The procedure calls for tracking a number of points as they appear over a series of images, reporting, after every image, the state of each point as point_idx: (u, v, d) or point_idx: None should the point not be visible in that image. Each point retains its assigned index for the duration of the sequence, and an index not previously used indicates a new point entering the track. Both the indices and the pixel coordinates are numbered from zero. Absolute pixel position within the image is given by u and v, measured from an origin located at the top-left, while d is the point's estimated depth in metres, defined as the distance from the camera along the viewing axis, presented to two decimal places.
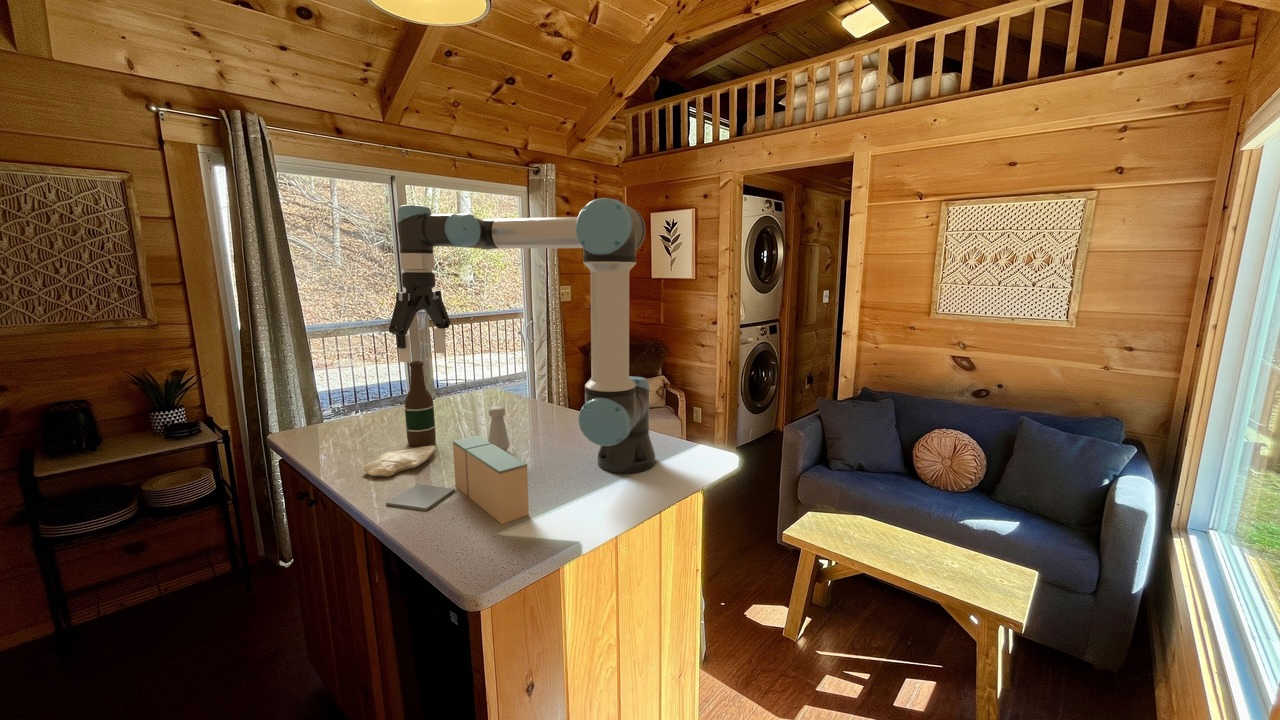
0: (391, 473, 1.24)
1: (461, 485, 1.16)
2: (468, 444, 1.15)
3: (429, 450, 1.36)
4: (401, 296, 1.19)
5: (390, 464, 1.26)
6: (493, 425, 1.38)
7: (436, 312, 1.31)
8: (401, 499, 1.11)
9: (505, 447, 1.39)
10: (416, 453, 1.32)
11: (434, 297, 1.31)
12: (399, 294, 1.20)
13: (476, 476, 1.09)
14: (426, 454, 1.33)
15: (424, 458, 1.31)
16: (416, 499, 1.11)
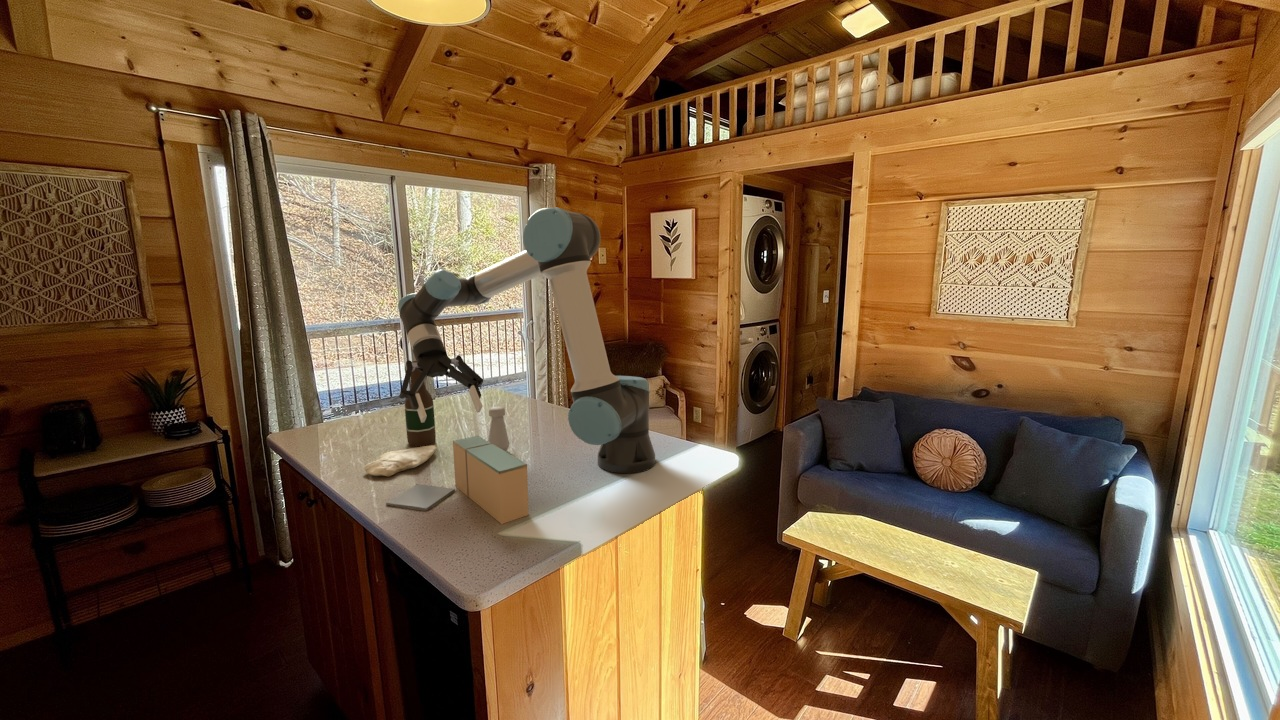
0: (392, 473, 1.24)
1: (461, 485, 1.16)
2: (468, 444, 1.15)
3: (430, 450, 1.36)
4: (405, 365, 1.26)
5: (391, 463, 1.26)
6: (493, 425, 1.38)
7: (458, 372, 1.30)
8: (401, 499, 1.11)
9: (505, 447, 1.39)
10: (417, 453, 1.32)
11: (455, 362, 1.33)
12: (405, 365, 1.26)
13: (476, 476, 1.09)
14: (427, 454, 1.33)
15: (425, 458, 1.31)
16: (416, 499, 1.11)
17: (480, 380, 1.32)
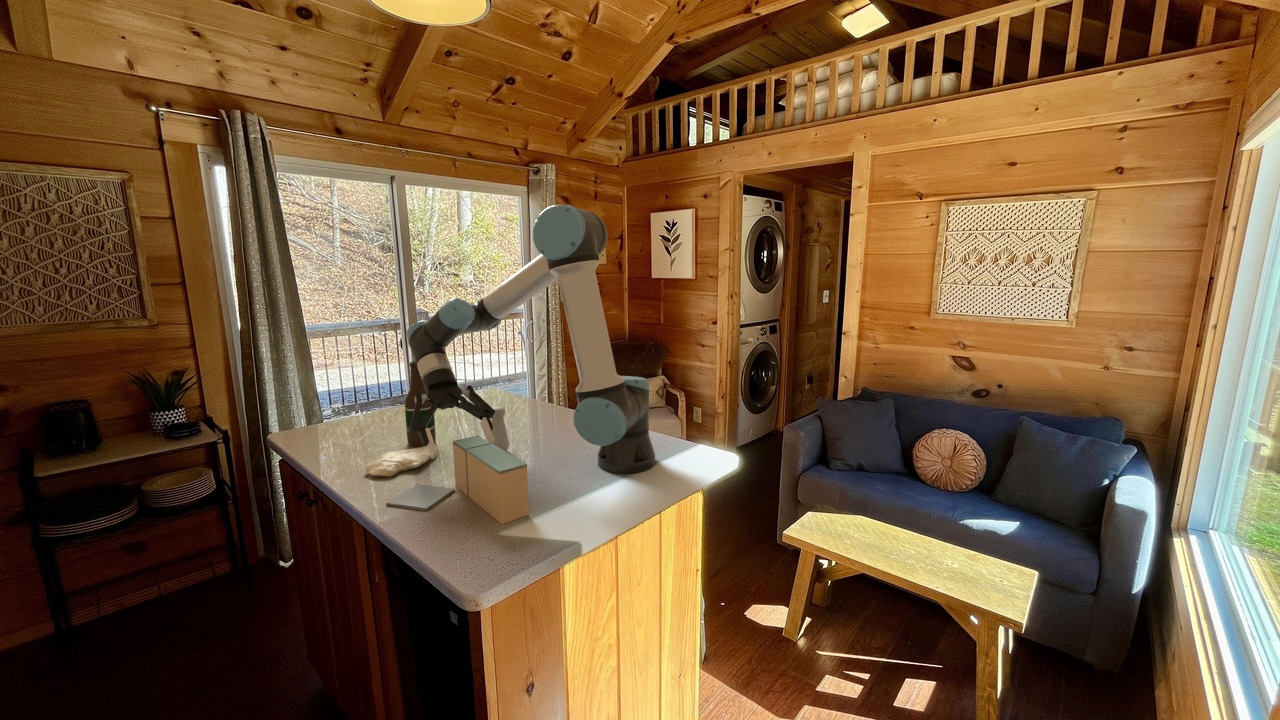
0: (392, 473, 1.24)
1: (461, 485, 1.16)
2: (468, 444, 1.15)
3: None
4: (415, 398, 1.21)
5: (391, 464, 1.26)
6: (493, 425, 1.38)
7: (469, 404, 1.26)
8: (401, 499, 1.11)
9: (505, 447, 1.39)
10: (417, 453, 1.32)
11: (466, 393, 1.28)
12: None
13: (476, 476, 1.09)
14: (427, 454, 1.33)
15: (425, 458, 1.31)
16: (416, 499, 1.11)
17: (492, 411, 1.27)
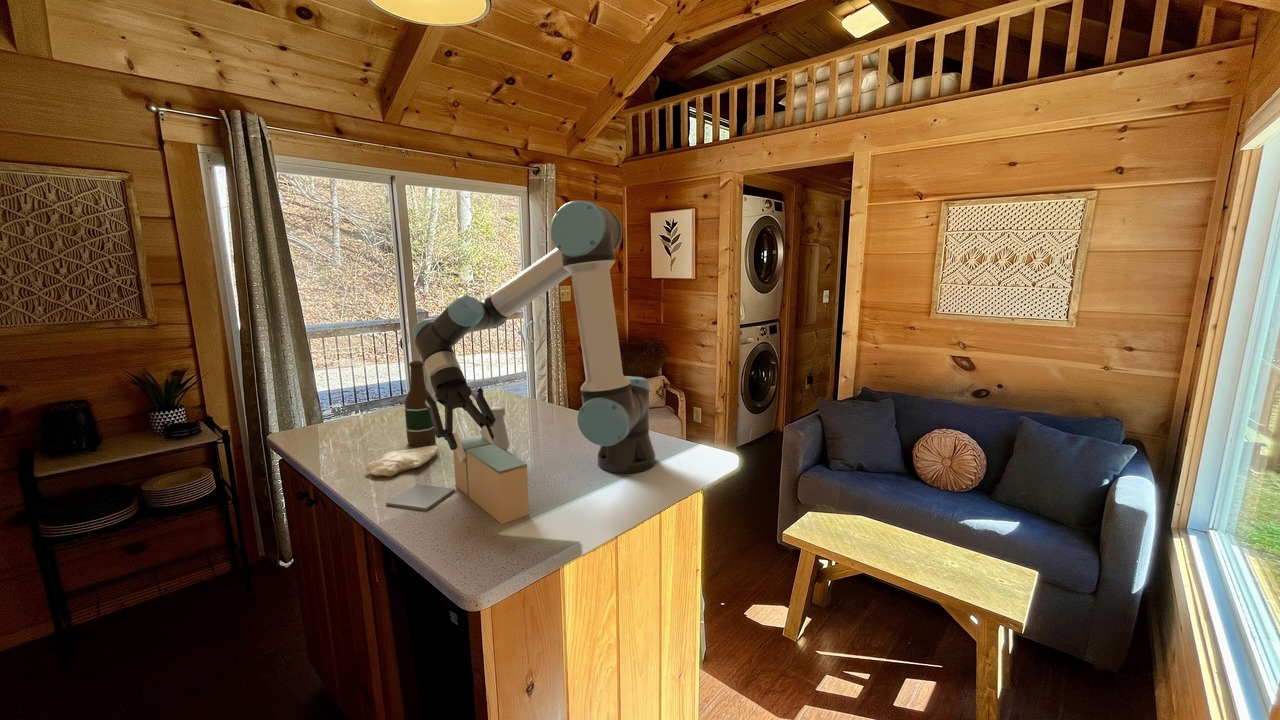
0: (393, 473, 1.24)
1: (461, 485, 1.16)
2: (468, 444, 1.15)
3: (432, 450, 1.36)
4: (427, 403, 1.17)
5: (392, 463, 1.26)
6: (493, 425, 1.38)
7: (473, 407, 1.20)
8: (401, 499, 1.11)
9: (505, 447, 1.39)
10: (418, 453, 1.32)
11: (474, 394, 1.24)
12: (425, 402, 1.17)
13: (476, 476, 1.09)
14: (428, 454, 1.33)
15: (426, 458, 1.31)
16: (416, 499, 1.11)
17: (492, 419, 1.21)
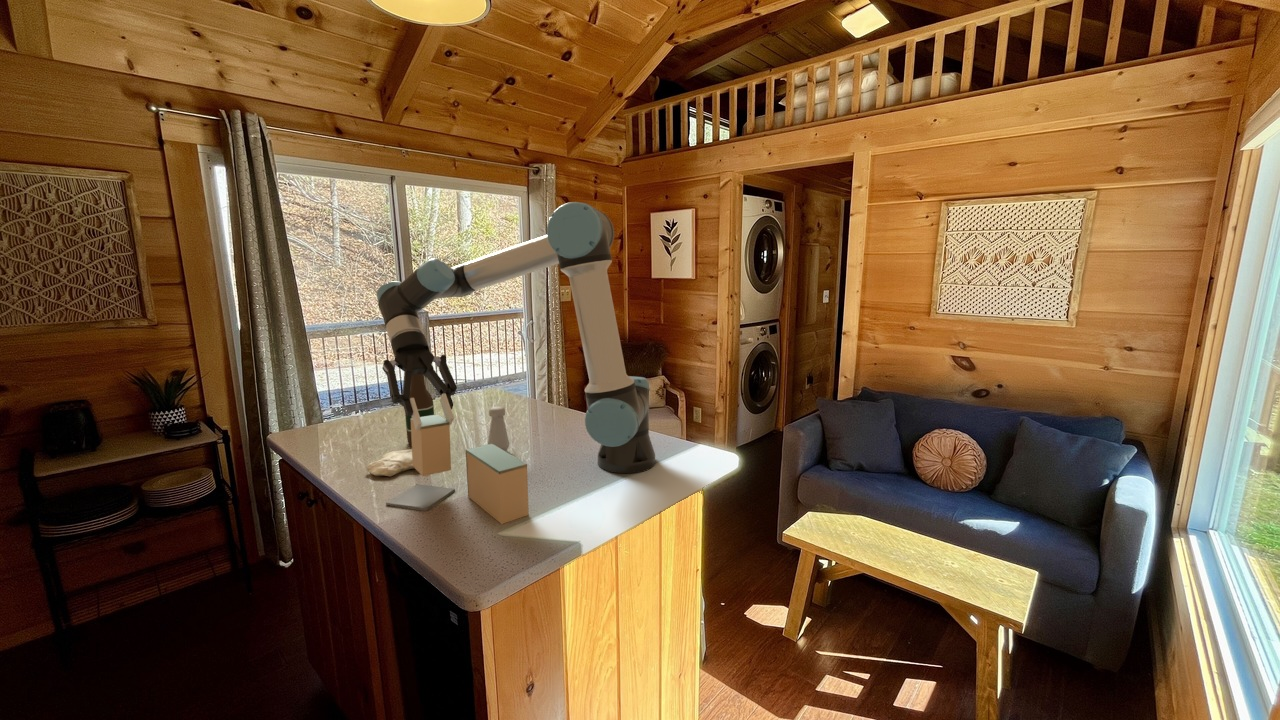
0: (393, 473, 1.24)
1: (417, 464, 1.12)
2: (425, 422, 1.10)
3: None
4: (384, 366, 1.11)
5: (393, 463, 1.26)
6: (493, 425, 1.38)
7: (433, 374, 1.15)
8: (401, 499, 1.11)
9: (505, 447, 1.39)
10: None
11: (437, 361, 1.18)
12: (383, 366, 1.12)
13: (476, 476, 1.09)
14: None
15: None
16: (416, 499, 1.11)
17: (453, 387, 1.15)
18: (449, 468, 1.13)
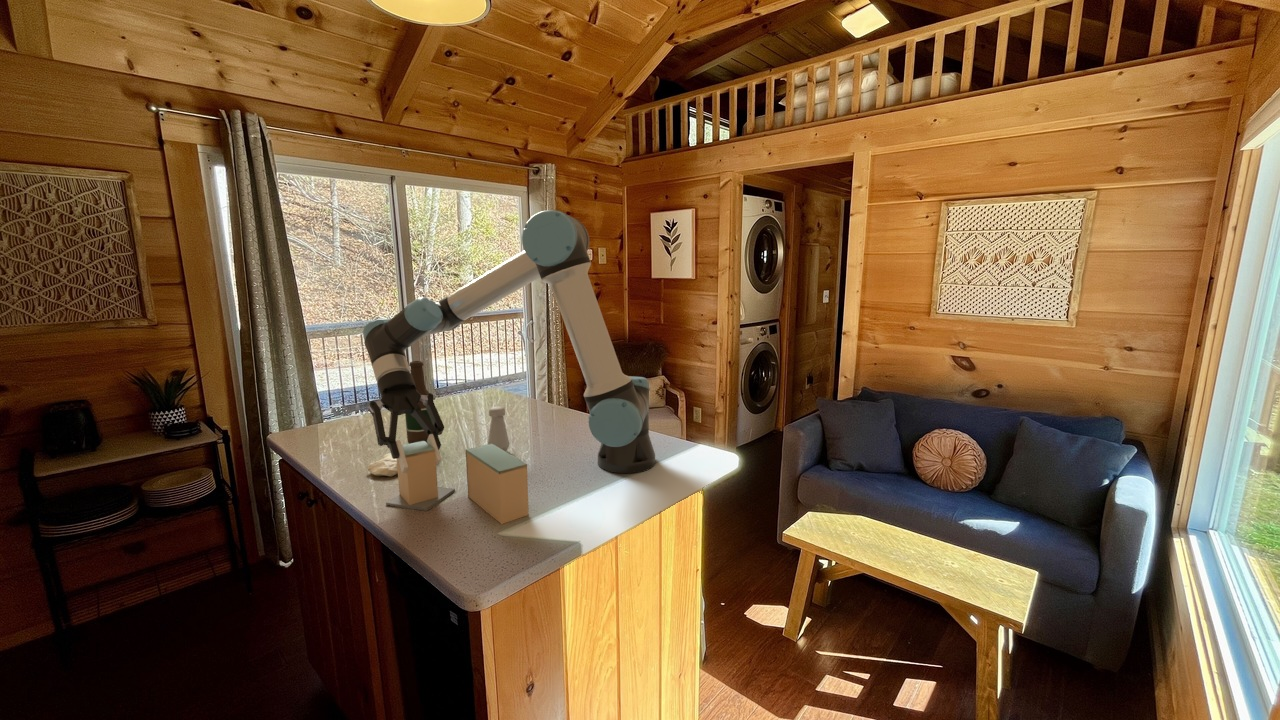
0: (394, 473, 1.24)
1: (404, 493, 1.10)
2: (411, 450, 1.09)
3: None
4: (370, 408, 1.11)
5: (393, 463, 1.26)
6: (493, 425, 1.38)
7: (420, 414, 1.14)
8: (401, 499, 1.11)
9: (505, 447, 1.39)
10: None
11: (424, 400, 1.18)
12: (369, 408, 1.11)
13: (476, 476, 1.09)
14: None
15: None
16: None
17: (440, 427, 1.15)
18: (436, 495, 1.12)
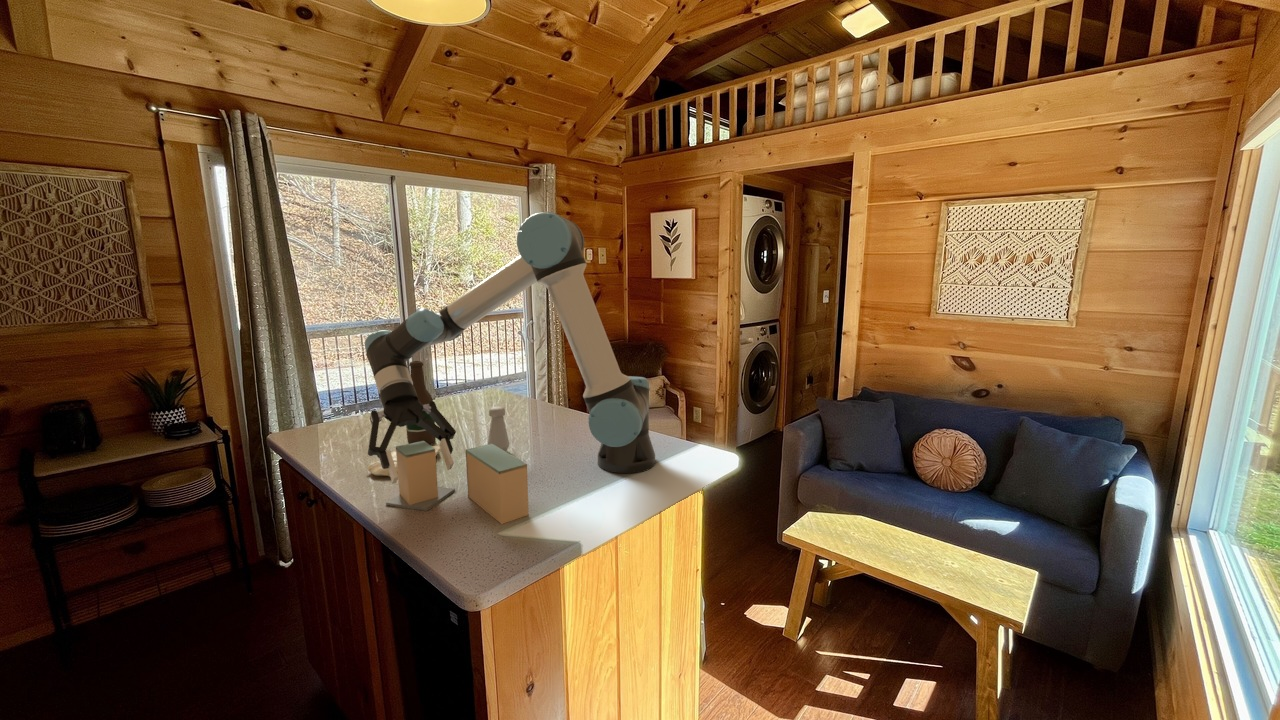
0: None
1: (404, 493, 1.10)
2: (411, 450, 1.09)
3: None
4: (371, 416, 1.11)
5: (394, 463, 1.26)
6: (493, 425, 1.38)
7: (428, 422, 1.16)
8: (401, 499, 1.11)
9: (505, 447, 1.39)
10: None
11: (427, 409, 1.19)
12: (370, 416, 1.12)
13: (476, 476, 1.09)
14: None
15: None
16: None
17: (452, 432, 1.17)
18: (436, 495, 1.12)
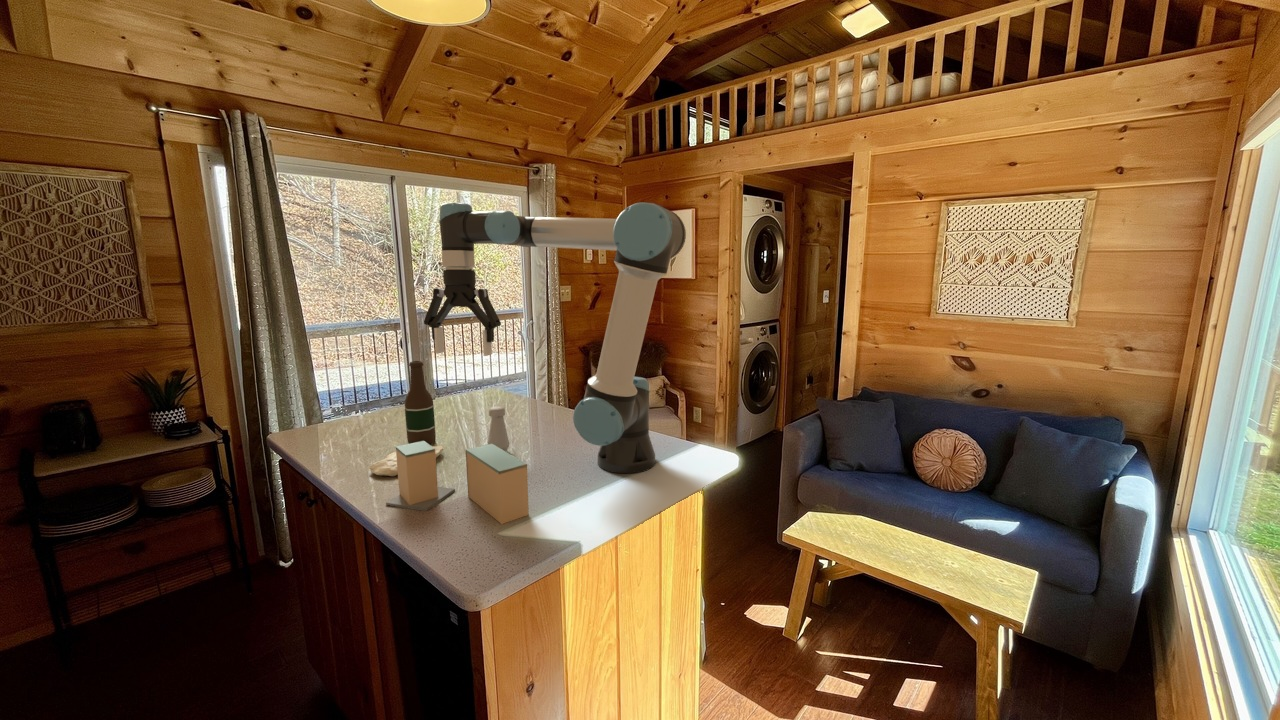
0: (395, 473, 1.24)
1: (404, 493, 1.10)
2: (411, 450, 1.09)
3: (436, 450, 1.36)
4: None
5: (396, 463, 1.26)
6: (493, 425, 1.38)
7: (474, 311, 1.25)
8: (401, 499, 1.11)
9: (505, 447, 1.39)
10: None
11: None
12: None
13: (476, 476, 1.09)
14: None
15: None
16: None
17: (492, 325, 1.25)
18: (436, 495, 1.12)
